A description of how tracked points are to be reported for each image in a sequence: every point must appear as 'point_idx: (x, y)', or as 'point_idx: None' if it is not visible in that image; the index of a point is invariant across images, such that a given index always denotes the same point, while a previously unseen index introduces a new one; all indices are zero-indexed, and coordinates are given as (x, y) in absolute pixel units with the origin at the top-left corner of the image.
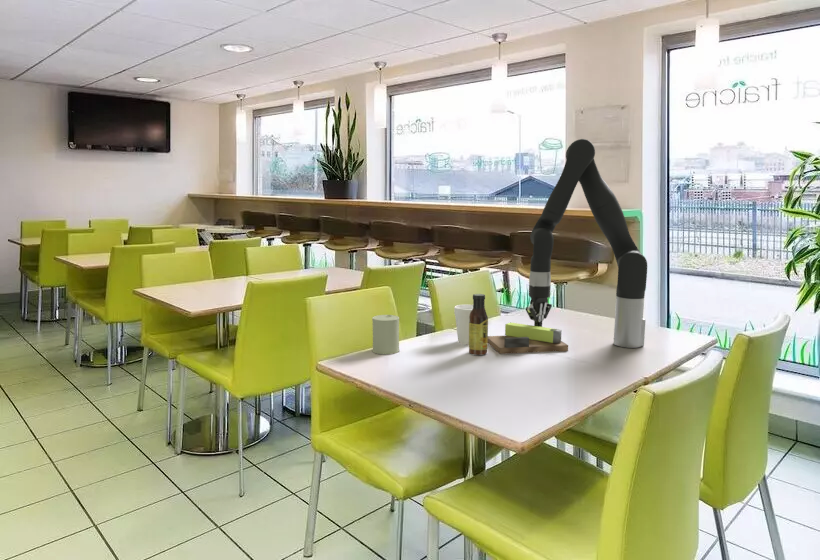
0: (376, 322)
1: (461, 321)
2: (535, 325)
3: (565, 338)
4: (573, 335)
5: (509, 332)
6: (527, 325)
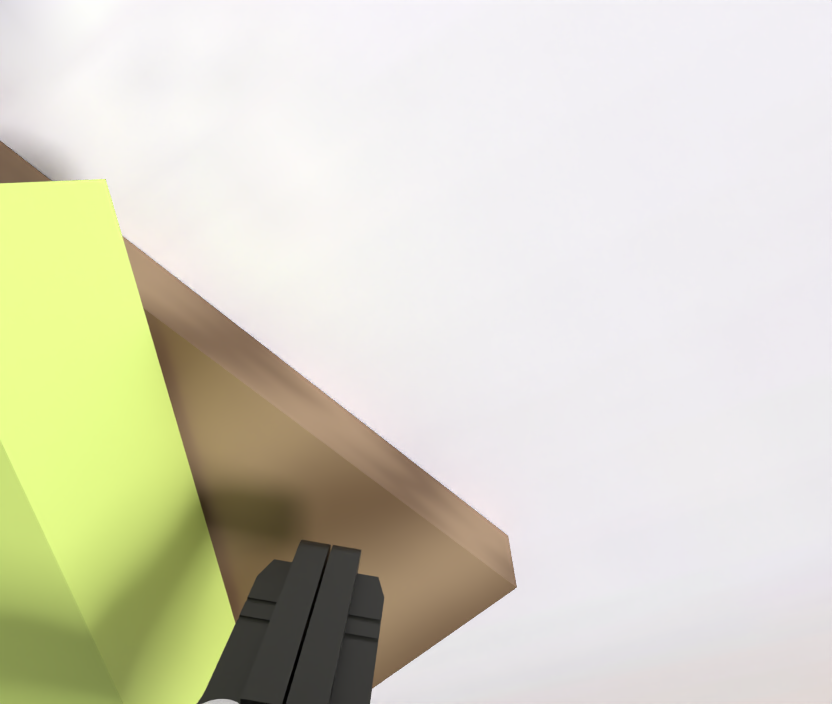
0: None
1: None
2: (235, 643)
3: (631, 630)
4: (805, 648)
5: None
6: (27, 604)
